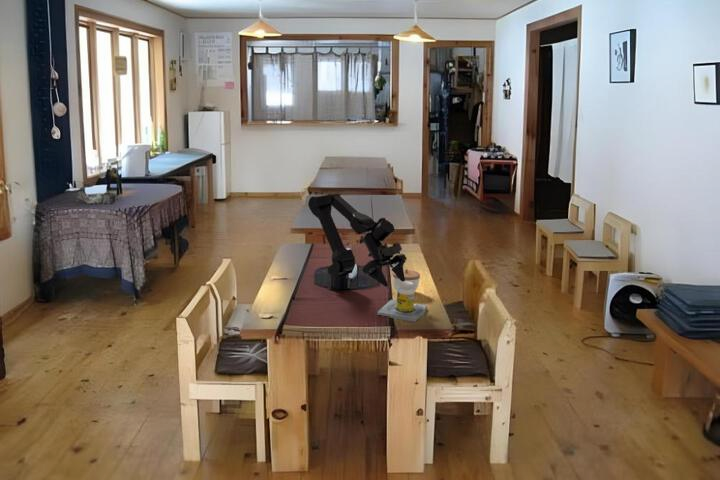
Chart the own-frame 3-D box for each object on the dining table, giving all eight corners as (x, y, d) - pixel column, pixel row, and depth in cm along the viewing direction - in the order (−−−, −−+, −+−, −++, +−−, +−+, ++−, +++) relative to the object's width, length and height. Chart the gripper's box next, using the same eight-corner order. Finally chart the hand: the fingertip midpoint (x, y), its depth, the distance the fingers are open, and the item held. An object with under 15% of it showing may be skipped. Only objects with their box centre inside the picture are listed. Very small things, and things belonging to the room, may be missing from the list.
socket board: (377, 315, 269) (377, 311, 268) (390, 302, 283) (391, 299, 283) (417, 322, 264) (417, 318, 264) (429, 309, 279) (429, 305, 278)
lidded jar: (410, 298, 290) (412, 274, 287) (386, 292, 295) (387, 269, 293) (423, 292, 299) (425, 269, 296) (399, 286, 304) (401, 263, 302)
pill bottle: (392, 311, 274) (394, 282, 271) (405, 308, 278) (407, 279, 275) (403, 316, 269) (406, 286, 267) (416, 313, 273) (418, 284, 271)
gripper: (370, 239, 268) (391, 277, 263) (405, 232, 281) (425, 268, 276) (353, 255, 275) (373, 292, 270) (387, 248, 288) (407, 283, 283)
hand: (395, 283), depth 275 cm, fingers open, 9 cm apart
